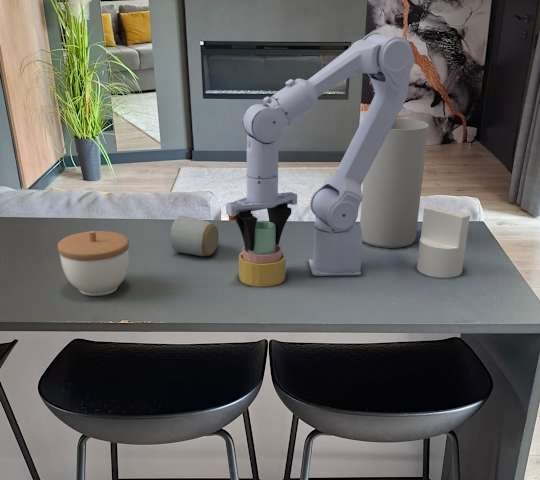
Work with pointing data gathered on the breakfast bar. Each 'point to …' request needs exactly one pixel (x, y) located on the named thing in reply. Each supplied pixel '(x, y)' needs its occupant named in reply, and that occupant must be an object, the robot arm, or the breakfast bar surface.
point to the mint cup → (264, 238)
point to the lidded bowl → (95, 261)
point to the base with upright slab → (442, 242)
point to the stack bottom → (262, 272)
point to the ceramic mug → (193, 236)
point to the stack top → (263, 256)
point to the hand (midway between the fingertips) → (262, 246)
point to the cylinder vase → (395, 187)
